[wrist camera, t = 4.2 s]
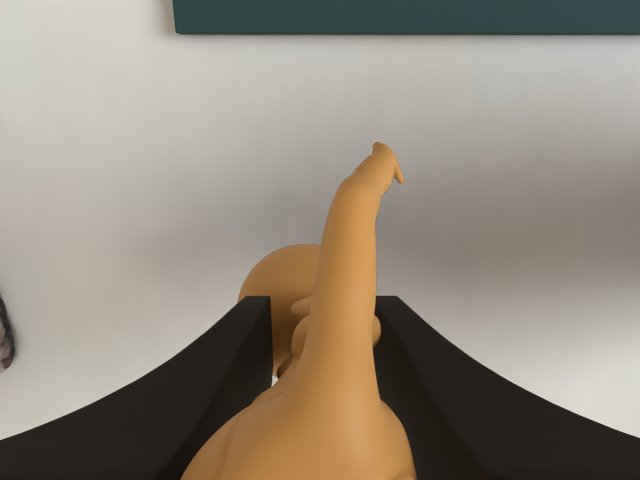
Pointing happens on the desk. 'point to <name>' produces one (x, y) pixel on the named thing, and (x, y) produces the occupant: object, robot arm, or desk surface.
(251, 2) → the mat
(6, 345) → the geode
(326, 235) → the figurine
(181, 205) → the desk surface
